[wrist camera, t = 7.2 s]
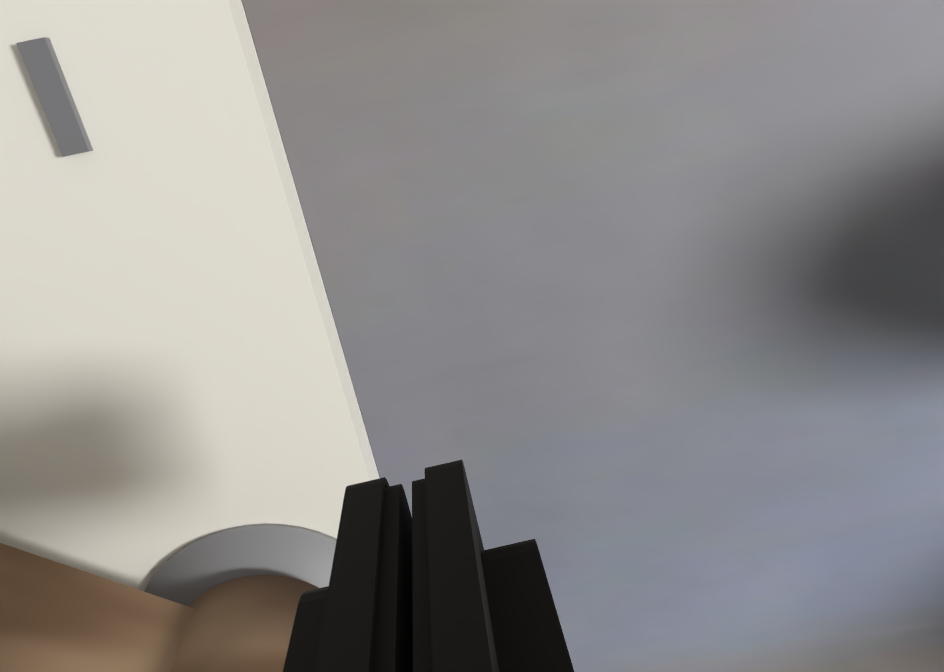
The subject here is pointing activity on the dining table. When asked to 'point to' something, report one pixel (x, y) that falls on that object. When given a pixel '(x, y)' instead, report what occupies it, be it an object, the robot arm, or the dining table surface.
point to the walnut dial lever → (138, 622)
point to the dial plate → (161, 307)
